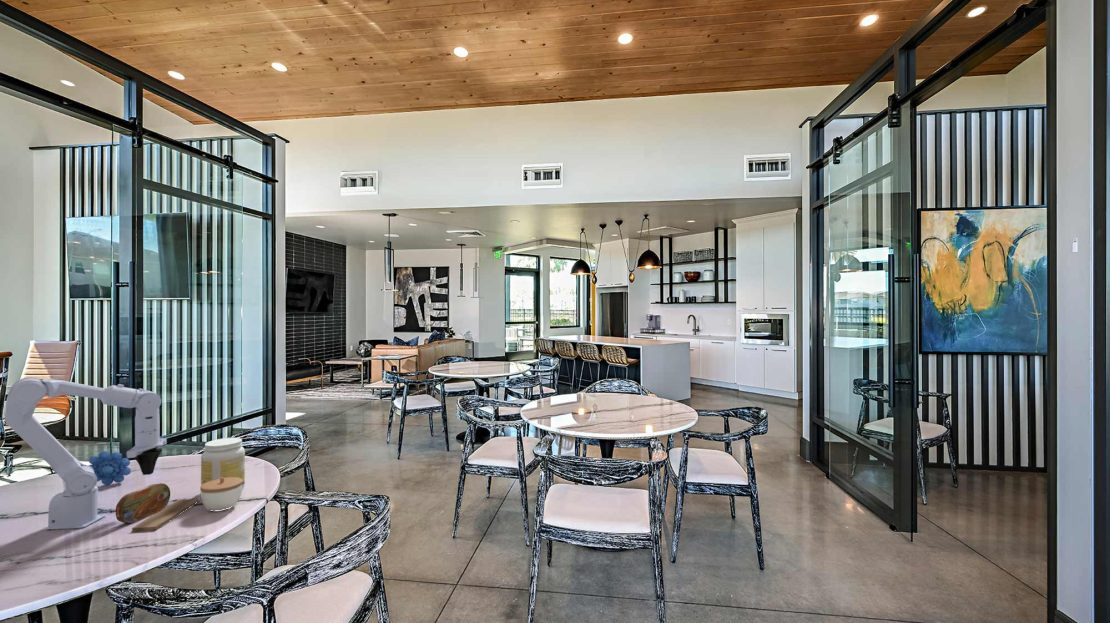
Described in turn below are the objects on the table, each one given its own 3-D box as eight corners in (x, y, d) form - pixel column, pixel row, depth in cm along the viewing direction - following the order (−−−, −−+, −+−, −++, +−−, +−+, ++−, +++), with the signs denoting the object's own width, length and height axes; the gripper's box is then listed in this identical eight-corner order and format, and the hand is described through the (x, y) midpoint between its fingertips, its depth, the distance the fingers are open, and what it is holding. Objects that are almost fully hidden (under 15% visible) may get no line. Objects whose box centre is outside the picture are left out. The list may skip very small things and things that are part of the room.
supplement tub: (248, 483, 167) (249, 435, 167) (239, 495, 155) (240, 444, 156) (207, 487, 162) (208, 438, 162) (194, 500, 151) (195, 448, 151)
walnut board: (132, 531, 129) (132, 527, 129) (178, 503, 149) (178, 499, 149) (156, 530, 130) (156, 526, 130) (199, 502, 149) (199, 498, 149)
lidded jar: (193, 517, 138) (193, 485, 139) (209, 503, 149) (209, 473, 149) (234, 513, 141) (235, 482, 141) (247, 499, 152) (248, 470, 152)
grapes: (82, 492, 157) (82, 456, 157) (86, 486, 162) (87, 451, 162) (128, 485, 164) (129, 450, 164) (131, 479, 169) (132, 446, 169)
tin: (122, 528, 131) (123, 498, 131) (112, 527, 131) (113, 497, 131) (171, 506, 146) (171, 479, 146) (161, 506, 146) (162, 479, 146)
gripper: (145, 435, 138) (145, 481, 138) (176, 424, 153) (177, 465, 153) (118, 437, 137) (118, 483, 137) (152, 425, 151) (153, 466, 152)
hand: (147, 474), depth 145 cm, fingers closed
